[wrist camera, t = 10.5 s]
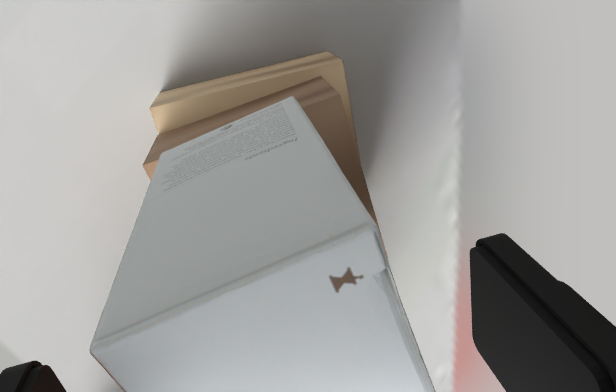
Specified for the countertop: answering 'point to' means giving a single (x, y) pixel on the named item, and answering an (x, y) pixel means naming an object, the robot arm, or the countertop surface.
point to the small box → (256, 273)
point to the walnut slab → (319, 109)
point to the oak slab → (247, 90)
